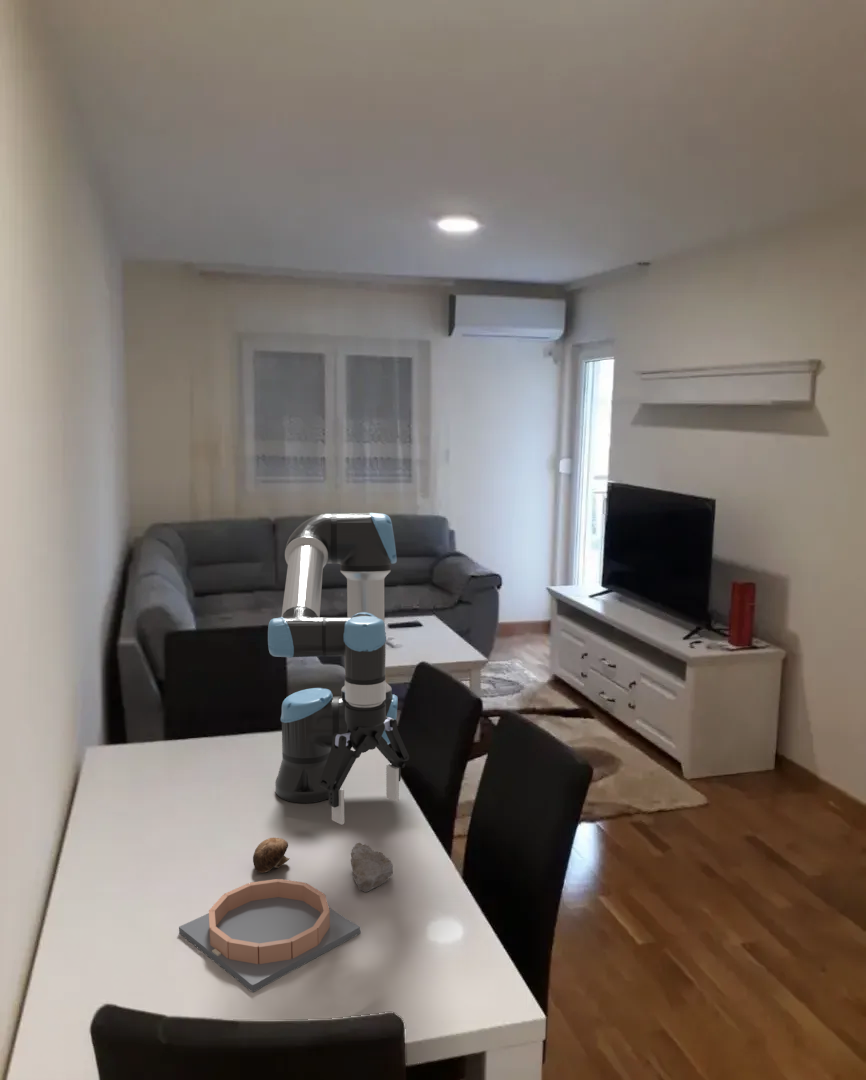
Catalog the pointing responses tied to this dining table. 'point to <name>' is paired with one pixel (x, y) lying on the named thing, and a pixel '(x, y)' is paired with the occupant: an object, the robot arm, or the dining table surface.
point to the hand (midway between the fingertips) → (366, 810)
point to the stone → (369, 867)
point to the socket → (268, 930)
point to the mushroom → (270, 854)
